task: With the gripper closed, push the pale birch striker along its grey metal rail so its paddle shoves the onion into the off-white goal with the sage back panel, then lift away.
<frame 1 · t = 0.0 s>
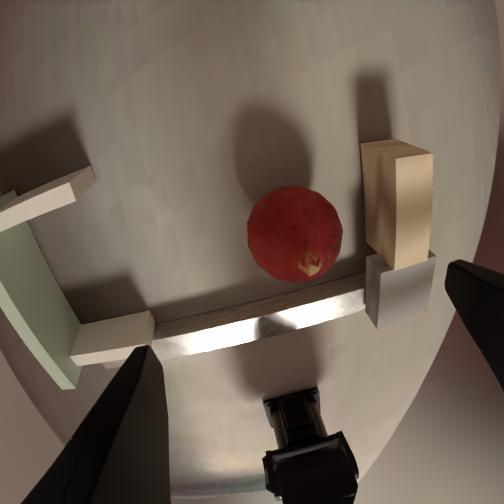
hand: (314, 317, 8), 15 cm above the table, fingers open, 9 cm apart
onion: (280, 210, 23), on the table
rail: (267, 309, 27), on the table
goal: (84, 262, 22), on the table
striker: (396, 235, 22), point 3 cm above the table, slide at 0.0 cm
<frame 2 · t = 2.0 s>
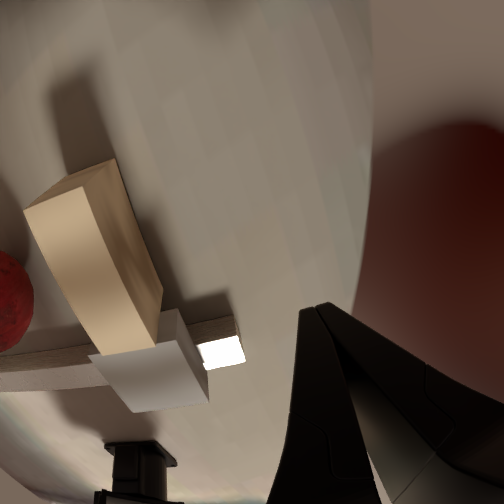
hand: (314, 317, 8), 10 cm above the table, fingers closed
onion: (15, 264, 16), on the table
rail: (50, 361, 20), on the table
striker: (125, 302, 15), point 3 cm above the table, slide at 0.0 cm
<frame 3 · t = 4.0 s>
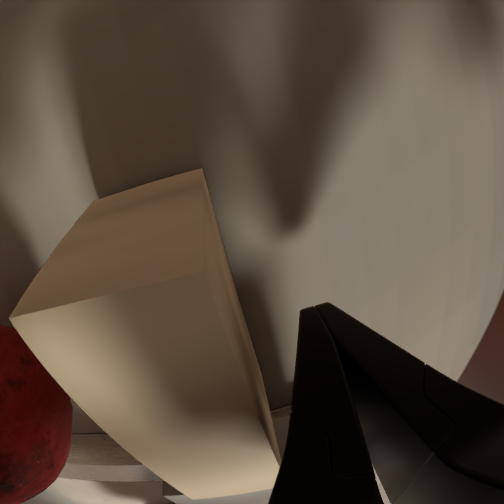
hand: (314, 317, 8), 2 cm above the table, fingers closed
onion: (26, 332, 10), on the table
rail: (85, 444, 14), on the table
striker: (220, 417, 9), point 3 cm above the table, slide at 0.9 cm, touching gripper
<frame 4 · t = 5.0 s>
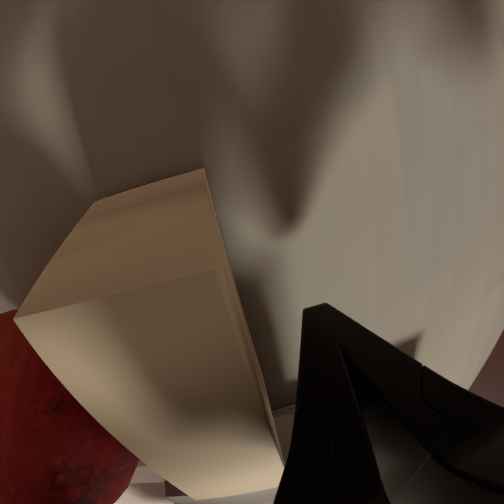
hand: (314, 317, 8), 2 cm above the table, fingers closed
onion: (75, 323, 10), on the table, touching striker
rail: (128, 444, 14), on the table
striker: (222, 417, 9), point 3 cm above the table, slide at 3.9 cm, touching gripper, onion
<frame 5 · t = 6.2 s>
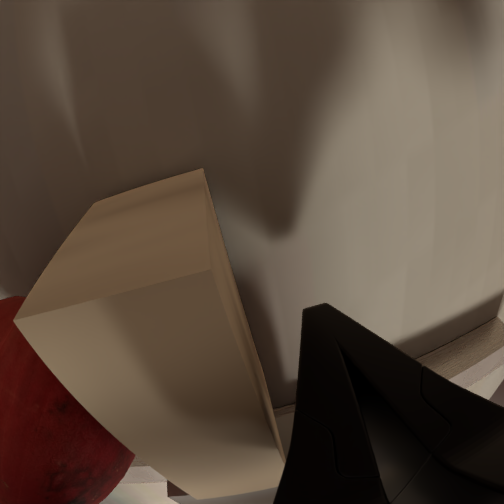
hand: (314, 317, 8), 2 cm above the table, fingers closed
onion: (72, 314, 10), on the table, touching striker
rail: (243, 428, 14), on the table
striker: (223, 417, 9), point 3 cm above the table, slide at 10.2 cm, touching gripper, onion
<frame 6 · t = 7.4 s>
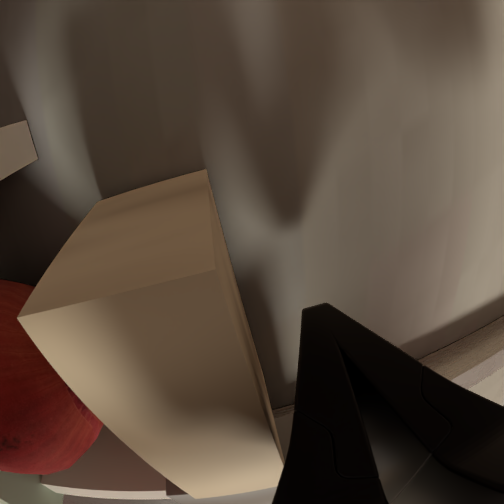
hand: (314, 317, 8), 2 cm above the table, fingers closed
onion: (121, 347, 7), point 2 cm above the table, touching goal
rail: (371, 390, 14), on the table
goal: (37, 335, 10), on the table
striker: (222, 417, 9), point 3 cm above the table, slide at 17.0 cm, touching gripper
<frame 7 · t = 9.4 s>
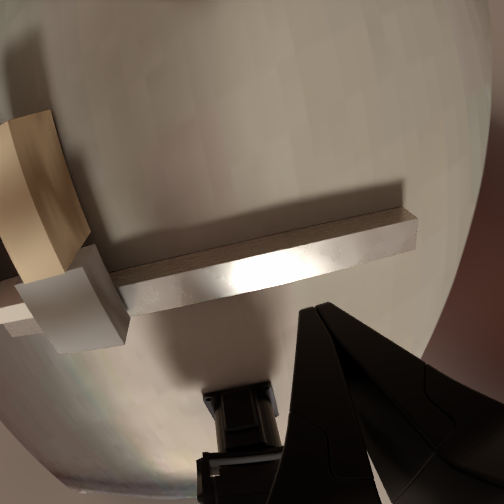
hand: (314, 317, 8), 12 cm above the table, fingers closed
rail: (186, 271, 21), on the table
striker: (50, 237, 15), point 3 cm above the table, slide at 17.0 cm
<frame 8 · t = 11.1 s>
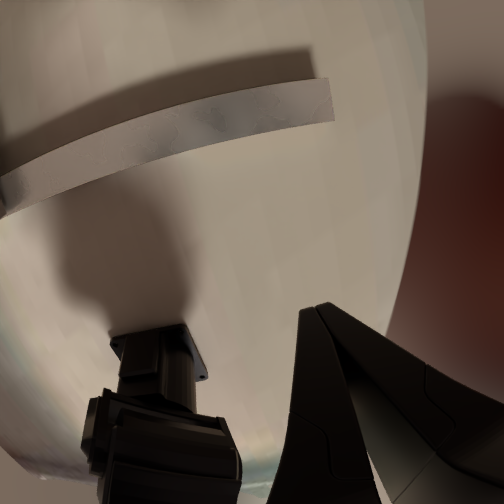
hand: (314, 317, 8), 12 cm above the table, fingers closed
rail: (65, 164, 16), on the table
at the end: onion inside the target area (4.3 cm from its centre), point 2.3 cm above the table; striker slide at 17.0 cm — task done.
